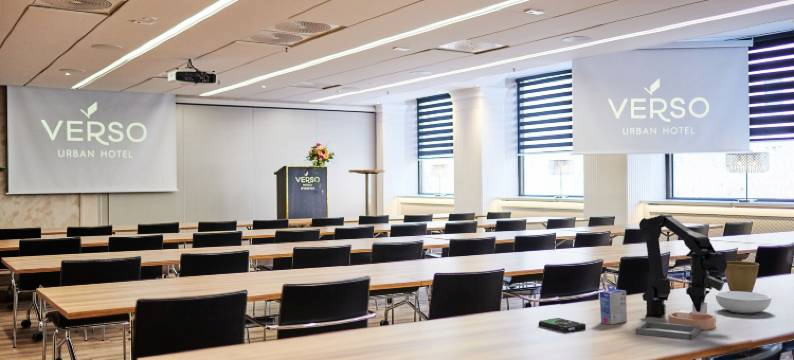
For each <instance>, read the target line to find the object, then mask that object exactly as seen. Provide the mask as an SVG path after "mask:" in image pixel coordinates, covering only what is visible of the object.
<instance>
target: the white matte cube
mask: <svg viewBox="0 0 794 360" xmlns="http://www.w3.org/2000/svg"><path fill="white" fill-rule="evenodd" d="M676 312H677V317H678V318H683V319H691V312H692V311H691V310H682V309H680V310H678V311H676Z"/></svg>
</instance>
